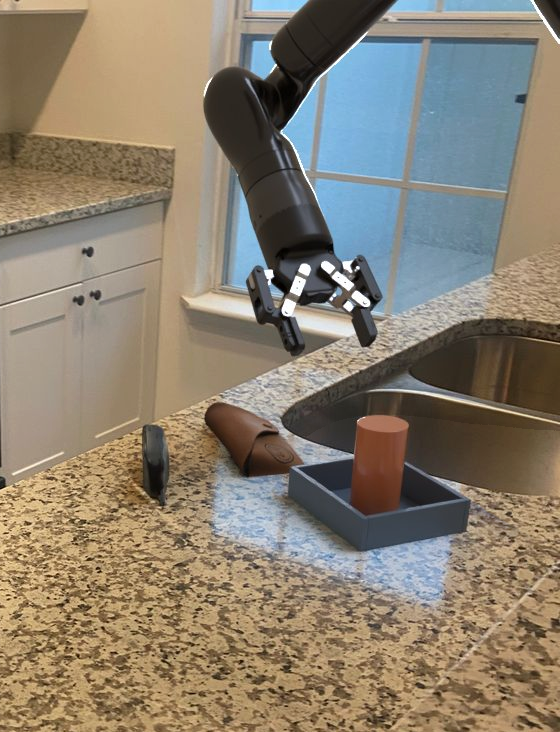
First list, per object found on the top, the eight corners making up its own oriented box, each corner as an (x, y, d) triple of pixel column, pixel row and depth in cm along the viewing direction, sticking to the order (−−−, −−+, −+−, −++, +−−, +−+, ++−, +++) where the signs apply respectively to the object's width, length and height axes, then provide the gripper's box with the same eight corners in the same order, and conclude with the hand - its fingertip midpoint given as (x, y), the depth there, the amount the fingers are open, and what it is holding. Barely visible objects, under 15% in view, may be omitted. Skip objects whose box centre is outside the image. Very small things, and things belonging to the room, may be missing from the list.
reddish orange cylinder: (380, 500, 110) (389, 412, 106) (408, 518, 106) (419, 427, 102) (339, 507, 109) (347, 418, 105) (365, 526, 105) (375, 434, 101)
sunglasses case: (315, 471, 118) (289, 426, 115) (262, 504, 119) (235, 460, 116) (265, 419, 134) (242, 379, 131) (219, 448, 135) (195, 409, 132)
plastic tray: (383, 483, 116) (387, 450, 114) (465, 535, 103) (471, 499, 101) (287, 500, 112) (289, 466, 111) (359, 556, 100) (363, 519, 98)
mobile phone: (138, 420, 123) (144, 465, 109) (164, 420, 123) (173, 465, 109) (138, 459, 125) (144, 508, 111) (163, 459, 125) (172, 507, 111)
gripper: (242, 206, 110) (289, 337, 105) (359, 196, 113) (410, 322, 108) (219, 248, 117) (261, 373, 111) (329, 237, 120) (376, 357, 115)
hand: (334, 348), depth 110 cm, fingers open, 8 cm apart
